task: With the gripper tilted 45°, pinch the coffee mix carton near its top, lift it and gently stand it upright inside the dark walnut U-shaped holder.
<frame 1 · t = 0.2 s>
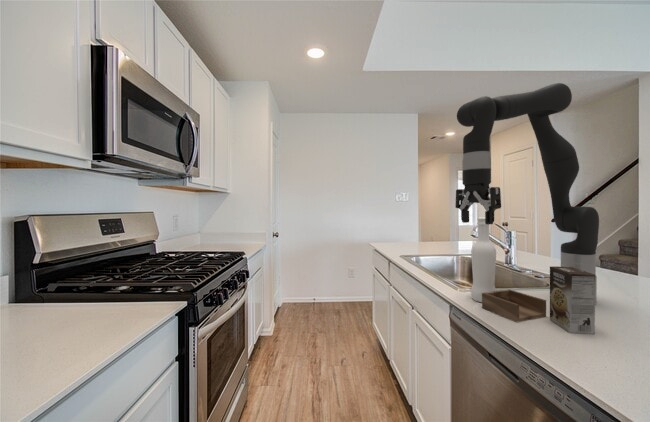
hand: (476, 223, 87), 29 cm above the worktop, tool pointing down, fingers open, 8 cm apart
coffee box: (570, 327, 82), on the worktop
bottle: (483, 300, 106), on the worktop
holder: (511, 311, 94), on the worktop
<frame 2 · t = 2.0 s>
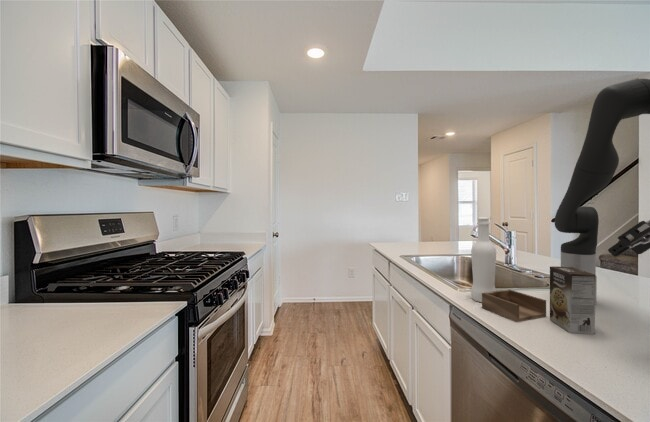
hand: (623, 252, 71), 23 cm above the worktop, tool tilted 45°, fingers open, 8 cm apart
nothing on the worktop moved.
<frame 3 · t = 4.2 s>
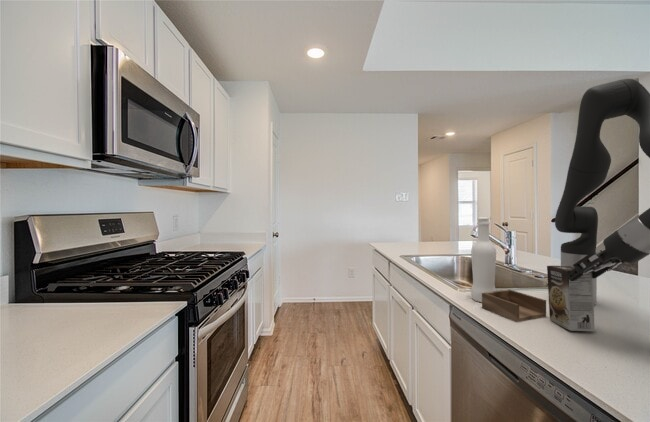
hand: (580, 276, 80), 15 cm above the worktop, tool tilted 45°, fingers open, 8 cm apart
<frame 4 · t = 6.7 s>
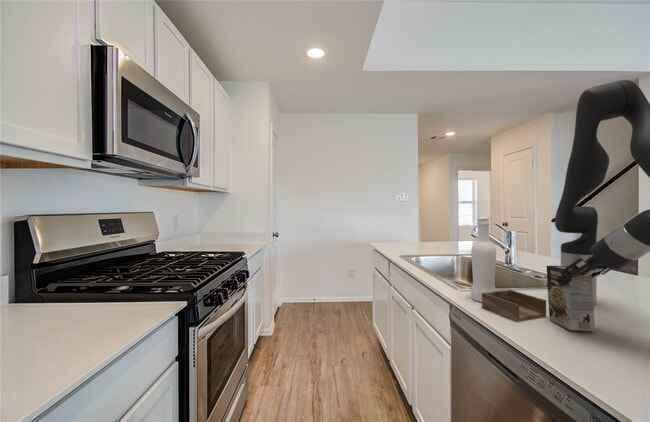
hand: (569, 281, 82), 13 cm above the worktop, tool tilted 45°, fingers closed on coffee box, 8 cm apart
coffee box: (570, 326, 82), on the worktop, touching gripper
everything else where it was.
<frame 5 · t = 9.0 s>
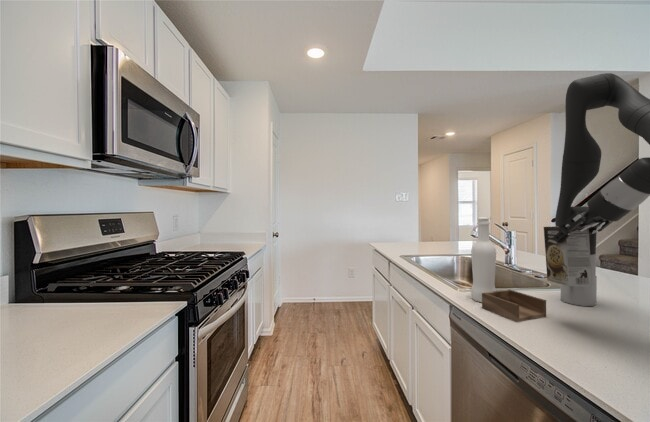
hand: (566, 239, 83), 24 cm above the worktop, tool tilted 45°, fingers closed on coffee box, 8 cm apart
coffee box: (568, 284, 83), point 12 cm above the worktop, touching gripper
everything else where it was.
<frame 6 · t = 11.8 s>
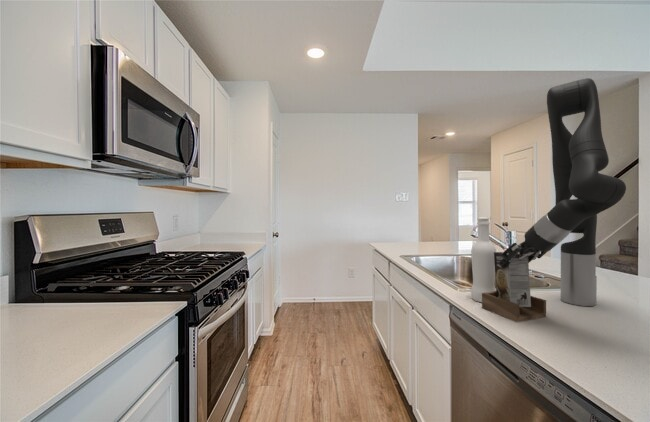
hand: (511, 265, 94), 15 cm above the worktop, tool tilted 45°, fingers closed on coffee box, 8 cm apart
coffee box: (513, 304, 94), point 3 cm above the worktop, touching gripper
everything else where it was.
when the fingers open (15 cm above the worktop, at t = 13.9 s): coffee box stays where it is, resting on holder.
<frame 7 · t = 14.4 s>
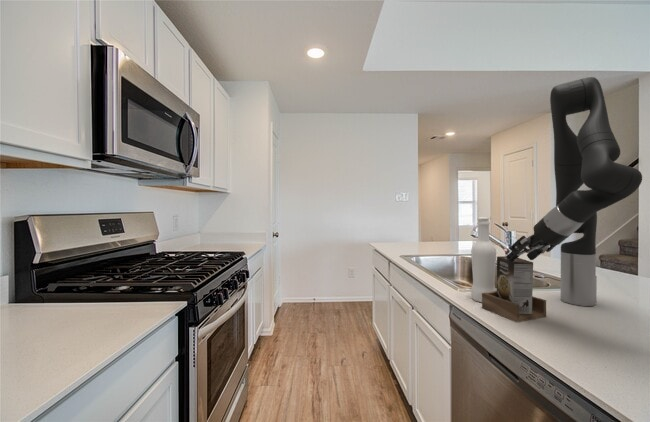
hand: (519, 258, 91), 18 cm above the worktop, tool tilted 45°, fingers open, 8 cm apart
coffee box: (513, 309, 94), point 1 cm above the worktop, touching holder
everything else where it was.
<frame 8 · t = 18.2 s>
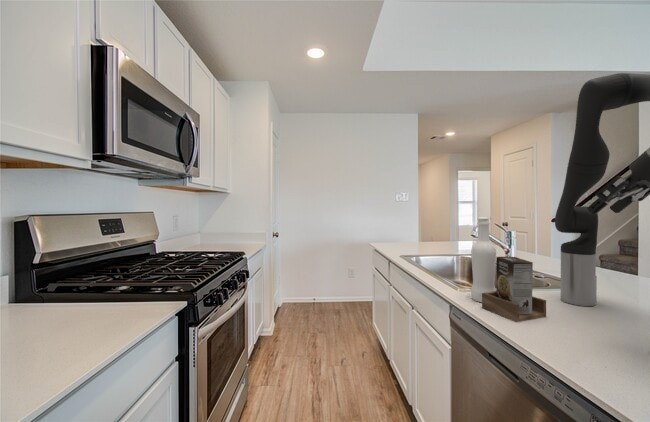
hand: (602, 211, 74), 33 cm above the worktop, tool tilted 45°, fingers open, 8 cm apart
nothing on the worktop moved.
at the end: coffee box 0.4 cm off-centre on the holder, point 0.8 cm above the holder's base; coffee box tilted 0°; the gripper is holding nothing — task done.
